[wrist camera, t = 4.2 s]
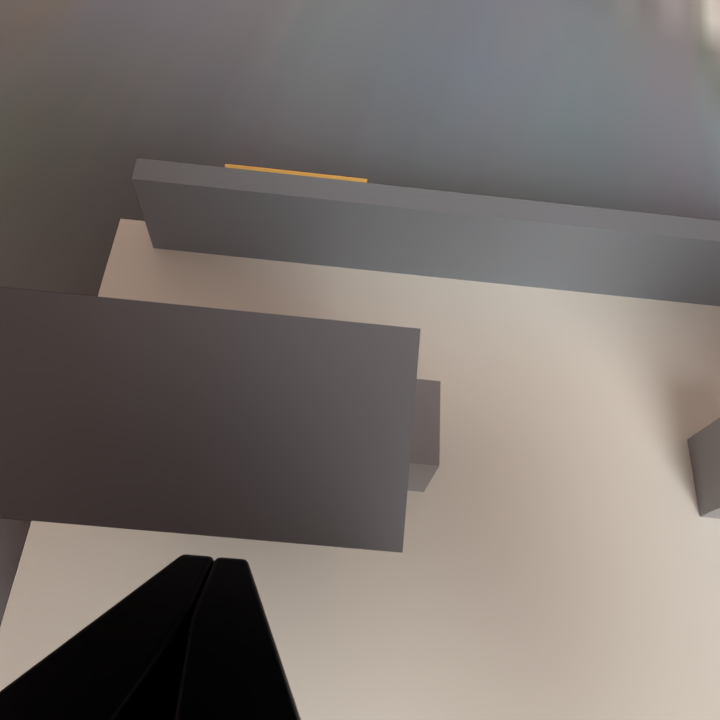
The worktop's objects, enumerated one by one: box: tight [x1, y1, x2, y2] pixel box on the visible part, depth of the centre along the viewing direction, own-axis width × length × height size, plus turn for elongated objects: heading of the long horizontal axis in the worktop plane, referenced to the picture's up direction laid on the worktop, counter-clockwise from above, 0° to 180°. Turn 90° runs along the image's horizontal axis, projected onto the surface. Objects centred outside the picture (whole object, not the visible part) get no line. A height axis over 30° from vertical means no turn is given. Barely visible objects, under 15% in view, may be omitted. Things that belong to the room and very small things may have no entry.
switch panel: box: [0, 158, 720, 720], centre depth 15 cm, size 11×22×6 cm, turn 86°
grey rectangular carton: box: [0, 287, 421, 553], centre depth 10 cm, size 2×4×8 cm, turn 85°
